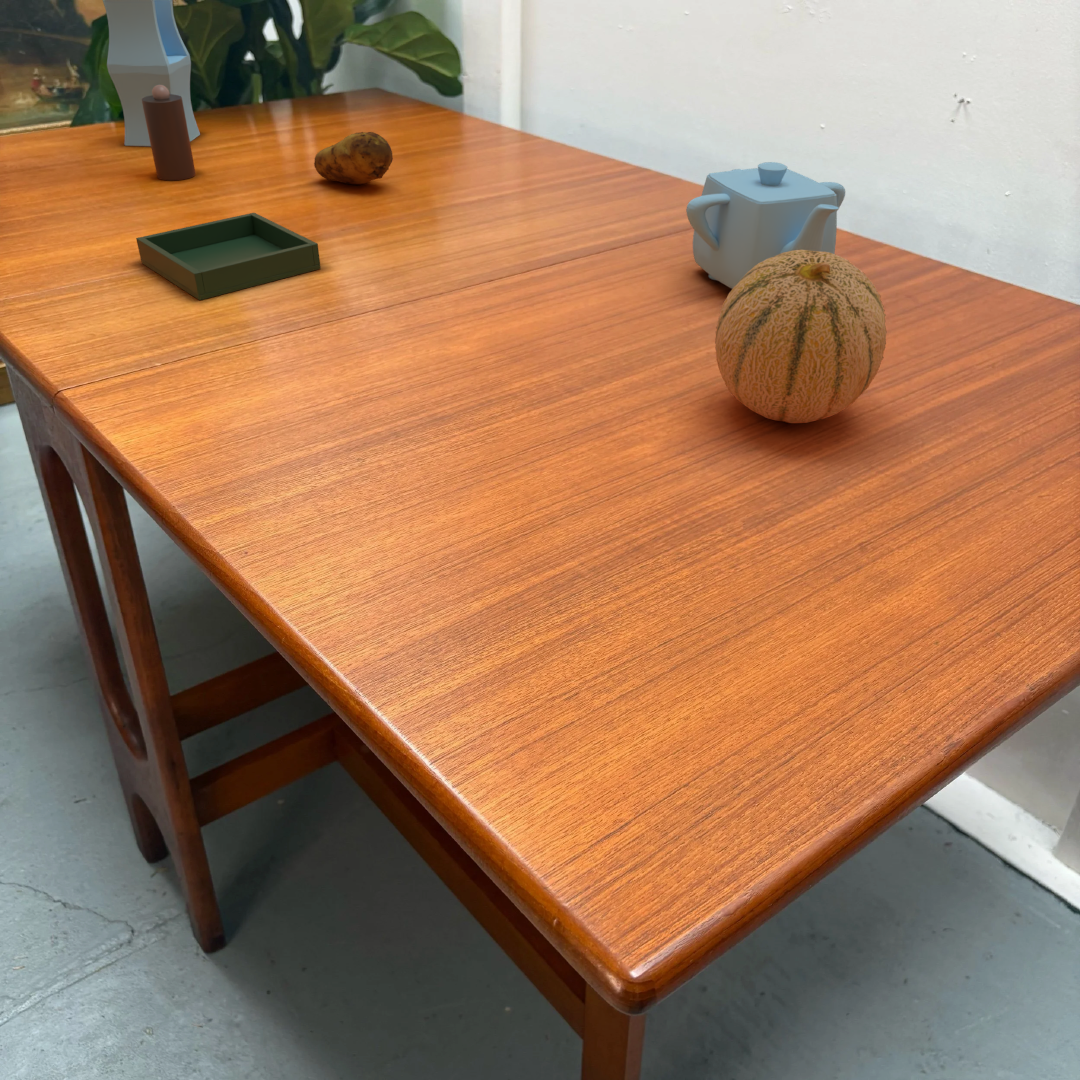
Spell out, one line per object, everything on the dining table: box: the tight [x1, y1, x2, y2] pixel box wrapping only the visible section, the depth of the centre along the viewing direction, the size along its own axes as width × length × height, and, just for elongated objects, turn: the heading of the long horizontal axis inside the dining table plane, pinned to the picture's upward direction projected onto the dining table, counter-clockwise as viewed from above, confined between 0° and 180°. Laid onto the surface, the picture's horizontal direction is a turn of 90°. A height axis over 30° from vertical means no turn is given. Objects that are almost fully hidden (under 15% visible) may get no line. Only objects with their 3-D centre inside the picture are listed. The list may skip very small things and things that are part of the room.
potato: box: [313, 131, 394, 185], centre depth 148 cm, size 8×13×8 cm, turn 39°
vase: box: [102, 0, 201, 147], centre depth 165 cm, size 10×10×25 cm
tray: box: [135, 212, 322, 301], centre depth 122 cm, size 16×16×3 cm
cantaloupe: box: [714, 250, 888, 424], centre depth 89 cm, size 15×15×15 cm
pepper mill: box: [142, 85, 197, 182], centre depth 151 cm, size 6×6×13 cm
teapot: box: [685, 161, 846, 290], centre depth 115 cm, size 18×16×14 cm
